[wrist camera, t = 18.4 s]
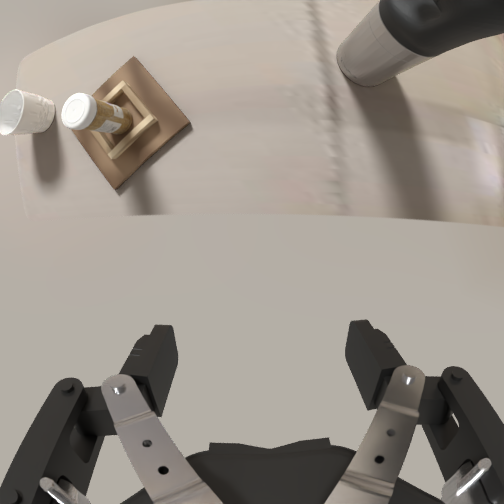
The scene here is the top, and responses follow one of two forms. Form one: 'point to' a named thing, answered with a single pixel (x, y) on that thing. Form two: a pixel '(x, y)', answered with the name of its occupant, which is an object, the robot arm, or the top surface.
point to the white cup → (25, 113)
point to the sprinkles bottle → (95, 115)
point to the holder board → (142, 127)
